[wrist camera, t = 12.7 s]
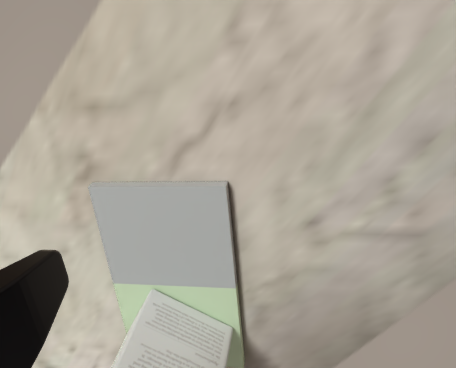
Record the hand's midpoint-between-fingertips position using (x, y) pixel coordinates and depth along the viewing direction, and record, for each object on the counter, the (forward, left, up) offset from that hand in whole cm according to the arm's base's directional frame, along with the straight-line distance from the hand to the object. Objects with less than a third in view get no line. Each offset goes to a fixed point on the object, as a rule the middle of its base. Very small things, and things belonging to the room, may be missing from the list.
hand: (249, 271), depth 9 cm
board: (+7, +11, -13) cm, 19 cm away
